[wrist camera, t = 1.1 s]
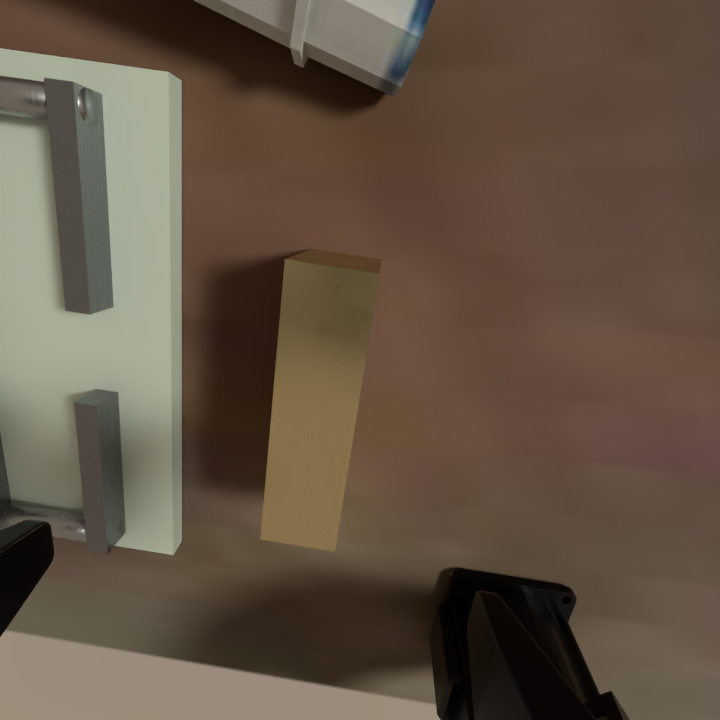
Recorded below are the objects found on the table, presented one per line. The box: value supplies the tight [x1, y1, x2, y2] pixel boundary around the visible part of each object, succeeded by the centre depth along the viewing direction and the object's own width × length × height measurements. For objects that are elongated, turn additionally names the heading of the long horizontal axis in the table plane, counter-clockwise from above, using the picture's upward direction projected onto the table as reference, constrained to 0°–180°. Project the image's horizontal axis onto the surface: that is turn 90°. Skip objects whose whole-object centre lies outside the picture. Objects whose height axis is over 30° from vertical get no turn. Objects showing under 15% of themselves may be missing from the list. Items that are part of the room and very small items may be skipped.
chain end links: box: [0, 76, 126, 554], centre depth 18 cm, size 7×20×2 cm, turn 172°
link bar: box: [260, 249, 382, 552], centre depth 17 cm, size 3×11×5 cm, turn 172°
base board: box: [0, 48, 182, 555], centre depth 19 cm, size 12×22×1 cm, turn 172°
